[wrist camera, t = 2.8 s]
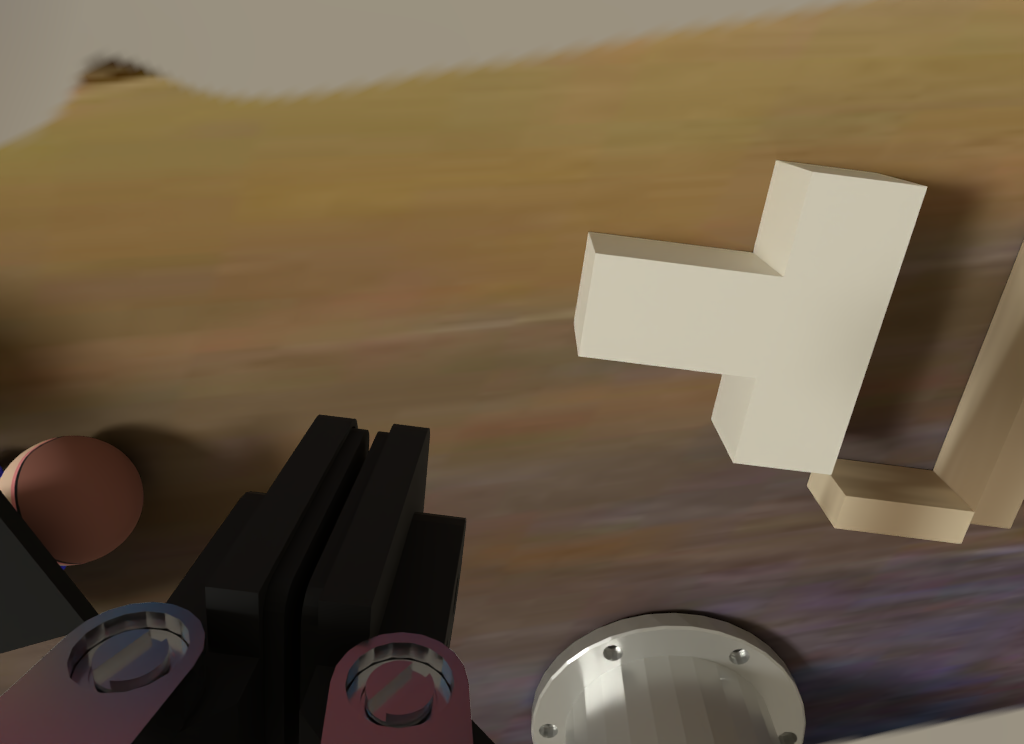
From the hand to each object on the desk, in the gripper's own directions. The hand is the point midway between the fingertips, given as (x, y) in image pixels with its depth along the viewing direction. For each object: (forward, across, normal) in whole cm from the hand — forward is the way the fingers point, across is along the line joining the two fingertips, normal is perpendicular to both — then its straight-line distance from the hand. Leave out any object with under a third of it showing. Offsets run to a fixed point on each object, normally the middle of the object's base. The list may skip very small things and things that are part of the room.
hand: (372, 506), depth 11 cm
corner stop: (+16, -18, +1) cm, 24 cm away
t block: (+17, -9, 0) cm, 19 cm away
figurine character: (+17, +19, +14) cm, 29 cm away
